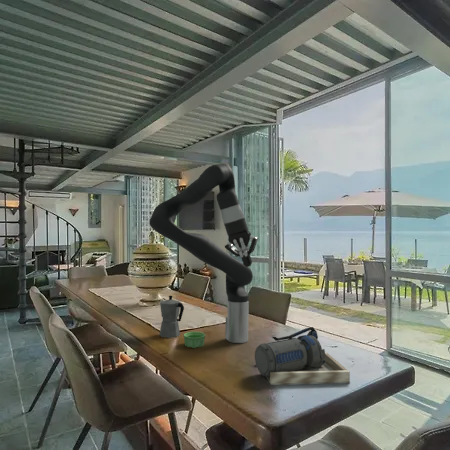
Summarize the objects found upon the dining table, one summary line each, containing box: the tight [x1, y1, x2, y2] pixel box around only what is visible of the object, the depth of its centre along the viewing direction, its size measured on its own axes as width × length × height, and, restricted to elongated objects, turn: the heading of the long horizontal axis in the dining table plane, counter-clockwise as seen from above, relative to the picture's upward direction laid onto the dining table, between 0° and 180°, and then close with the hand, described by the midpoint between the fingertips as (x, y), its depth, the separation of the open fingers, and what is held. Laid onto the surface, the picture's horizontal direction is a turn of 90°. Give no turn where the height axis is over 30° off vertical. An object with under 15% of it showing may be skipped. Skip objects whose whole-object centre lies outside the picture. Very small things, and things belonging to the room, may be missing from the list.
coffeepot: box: [159, 295, 185, 339], centre depth 157 cm, size 15×9×18 cm, turn 49°
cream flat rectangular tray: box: [266, 351, 351, 386], centre depth 116 cm, size 25×18×4 cm
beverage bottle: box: [254, 326, 326, 378], centre depth 117 cm, size 10×13×25 cm
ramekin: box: [183, 331, 206, 349], centre depth 144 cm, size 9×9×4 cm
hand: (248, 265), depth 122 cm, fingers closed
